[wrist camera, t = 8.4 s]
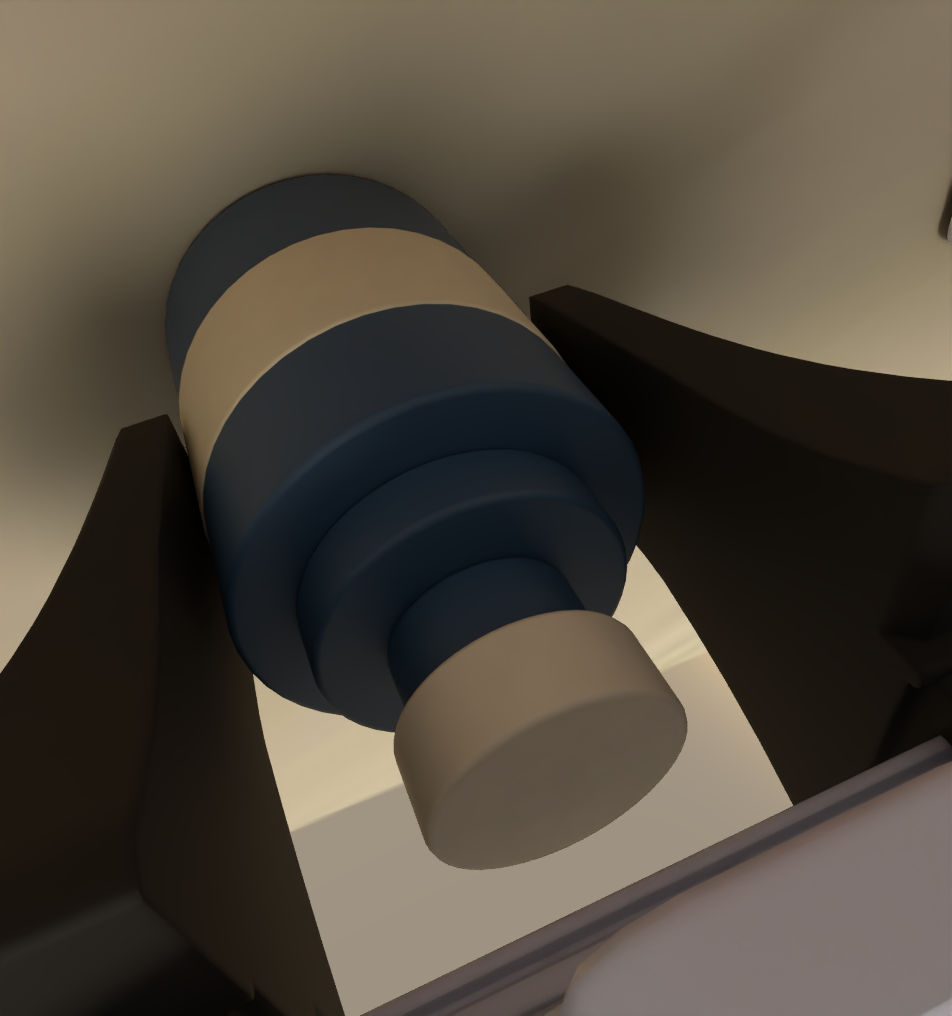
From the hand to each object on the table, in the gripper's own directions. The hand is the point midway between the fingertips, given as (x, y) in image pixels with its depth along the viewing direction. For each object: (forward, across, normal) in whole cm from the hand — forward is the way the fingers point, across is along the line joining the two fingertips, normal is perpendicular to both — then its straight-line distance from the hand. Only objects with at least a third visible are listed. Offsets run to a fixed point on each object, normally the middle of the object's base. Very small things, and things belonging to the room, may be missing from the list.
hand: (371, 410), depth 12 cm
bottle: (+2, 0, 0) cm, 2 cm away
